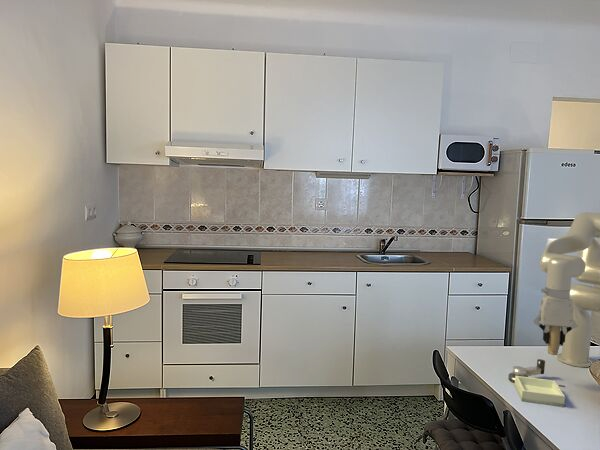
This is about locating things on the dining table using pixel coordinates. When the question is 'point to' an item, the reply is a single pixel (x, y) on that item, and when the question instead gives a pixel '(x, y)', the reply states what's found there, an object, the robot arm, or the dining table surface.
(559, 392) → the tray
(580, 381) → the dining table surface
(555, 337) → the handle
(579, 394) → the dining table surface
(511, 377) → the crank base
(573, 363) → the robot arm
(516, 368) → the crank
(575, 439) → the dining table surface
